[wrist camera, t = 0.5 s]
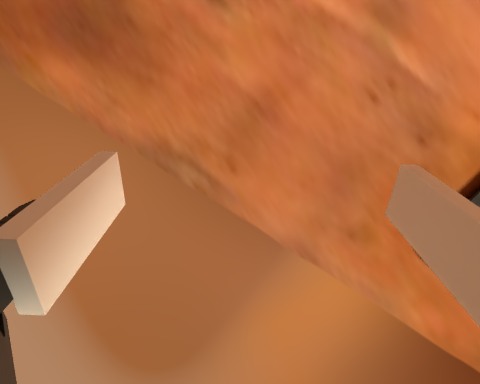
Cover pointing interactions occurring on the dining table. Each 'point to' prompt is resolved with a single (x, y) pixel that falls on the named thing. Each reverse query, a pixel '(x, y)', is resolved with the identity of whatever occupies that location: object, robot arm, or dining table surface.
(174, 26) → the dining table surface
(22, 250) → the robot arm
